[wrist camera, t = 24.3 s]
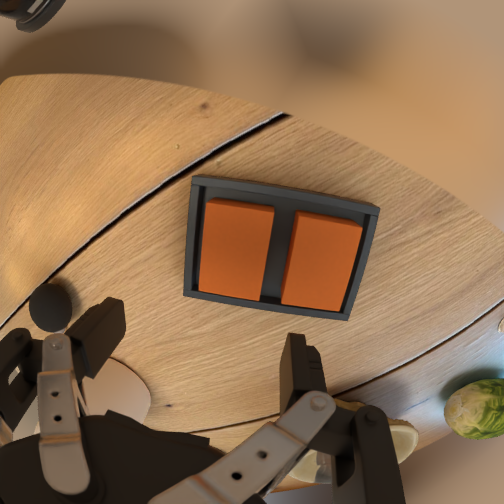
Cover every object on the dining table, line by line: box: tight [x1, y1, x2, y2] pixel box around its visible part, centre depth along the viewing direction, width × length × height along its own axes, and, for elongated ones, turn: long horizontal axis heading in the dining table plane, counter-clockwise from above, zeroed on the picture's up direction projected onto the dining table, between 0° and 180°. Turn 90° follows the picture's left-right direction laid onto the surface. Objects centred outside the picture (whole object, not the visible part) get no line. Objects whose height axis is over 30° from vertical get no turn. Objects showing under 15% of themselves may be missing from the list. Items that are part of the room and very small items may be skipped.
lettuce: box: [444, 378, 504, 440], centre depth 27 cm, size 12×21×11 cm, turn 70°
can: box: [34, 358, 151, 434], centre depth 26 cm, size 12×12×20 cm
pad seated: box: [281, 209, 363, 311], centre depth 24 cm, size 8×6×3 cm
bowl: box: [288, 399, 419, 483], centre depth 30 cm, size 18×18×10 cm
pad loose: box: [199, 197, 274, 301], centre depth 25 cm, size 8×6×3 cm
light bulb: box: [29, 283, 72, 334], centre depth 29 cm, size 6×6×10 cm
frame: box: [183, 174, 380, 321], centre depth 26 cm, size 12×17×2 cm
